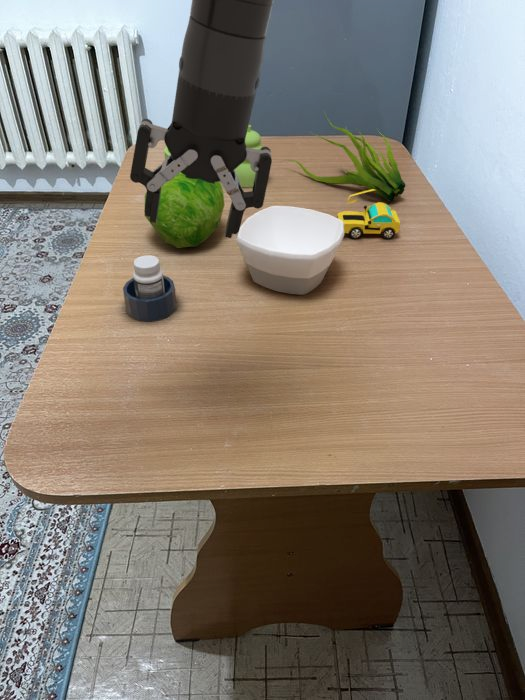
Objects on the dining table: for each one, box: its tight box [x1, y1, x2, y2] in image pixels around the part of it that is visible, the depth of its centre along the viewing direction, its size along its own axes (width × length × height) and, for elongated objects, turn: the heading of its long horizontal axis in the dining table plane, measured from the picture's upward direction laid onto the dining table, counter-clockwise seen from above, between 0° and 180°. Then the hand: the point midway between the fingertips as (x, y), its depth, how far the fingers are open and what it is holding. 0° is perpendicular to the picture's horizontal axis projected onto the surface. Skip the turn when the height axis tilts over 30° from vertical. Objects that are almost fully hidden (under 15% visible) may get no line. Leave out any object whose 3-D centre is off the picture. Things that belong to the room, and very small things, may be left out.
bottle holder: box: [122, 274, 177, 323], centre depth 93 cm, size 8×8×4 cm
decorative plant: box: [279, 110, 406, 203], centre depth 130 cm, size 18×30×15 cm, turn 23°
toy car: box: [336, 189, 401, 240], centre depth 113 cm, size 12×8×8 cm, turn 89°
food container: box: [163, 124, 263, 188], centre depth 134 cm, size 25×15×13 cm, turn 74°
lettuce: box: [144, 172, 225, 249], centre depth 112 cm, size 15×22×15 cm
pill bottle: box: [132, 254, 165, 299], centre depth 91 cm, size 5×5×8 cm
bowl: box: [235, 205, 345, 296], centre depth 99 cm, size 18×18×9 cm
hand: (190, 226), depth 64 cm, fingers open, 8 cm apart
